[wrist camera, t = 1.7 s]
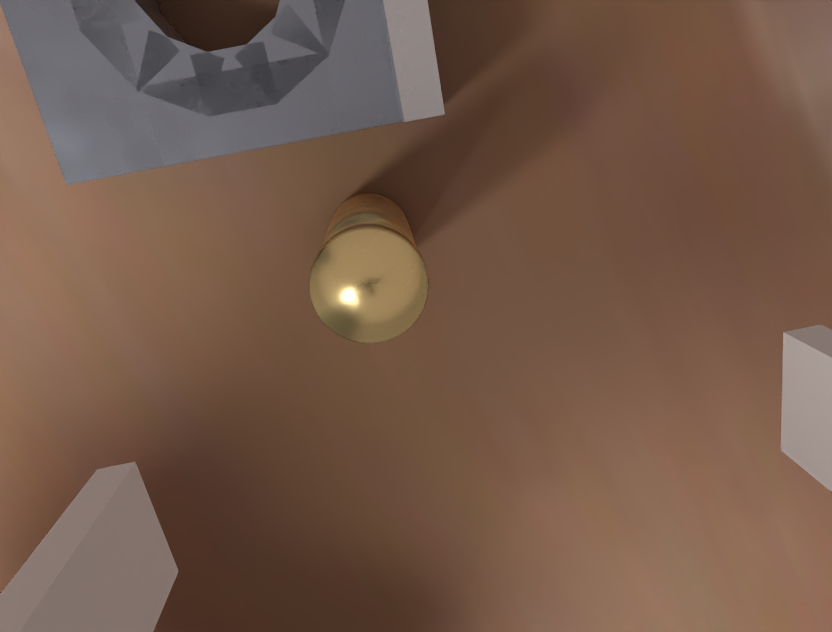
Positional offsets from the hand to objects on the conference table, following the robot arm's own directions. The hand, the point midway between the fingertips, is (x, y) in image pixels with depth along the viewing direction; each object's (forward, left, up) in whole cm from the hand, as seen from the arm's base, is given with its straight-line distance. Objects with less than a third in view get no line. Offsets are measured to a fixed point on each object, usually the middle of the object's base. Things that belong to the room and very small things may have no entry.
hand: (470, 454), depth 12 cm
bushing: (-2, +1, -19) cm, 19 cm away
